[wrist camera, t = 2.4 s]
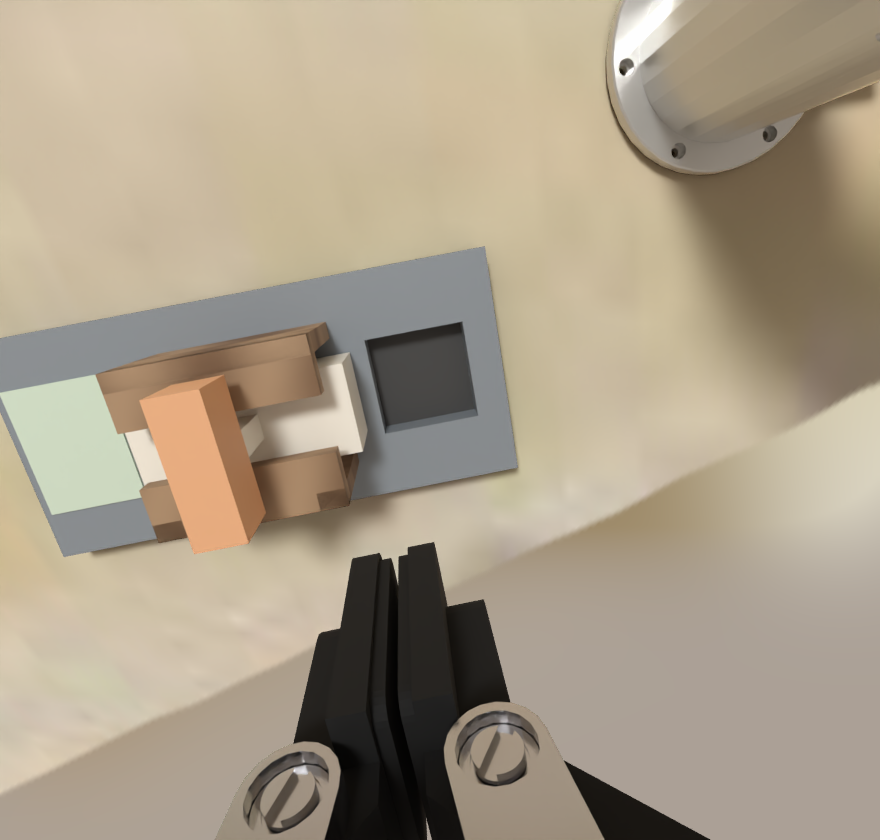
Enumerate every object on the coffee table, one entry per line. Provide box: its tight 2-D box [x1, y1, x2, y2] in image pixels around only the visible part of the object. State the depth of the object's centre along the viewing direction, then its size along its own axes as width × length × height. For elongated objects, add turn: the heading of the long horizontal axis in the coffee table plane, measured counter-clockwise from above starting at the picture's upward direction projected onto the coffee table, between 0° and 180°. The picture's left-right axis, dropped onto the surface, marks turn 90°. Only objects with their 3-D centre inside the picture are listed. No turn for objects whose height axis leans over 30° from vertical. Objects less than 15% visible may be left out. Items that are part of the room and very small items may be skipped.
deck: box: [0, 246, 518, 557], centre depth 33 cm, size 30×14×2 cm, turn 100°
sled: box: [125, 352, 368, 554], centre depth 27 cm, size 12×7×10 cm, turn 100°
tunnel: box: [95, 322, 359, 543], centre depth 29 cm, size 10×9×6 cm
